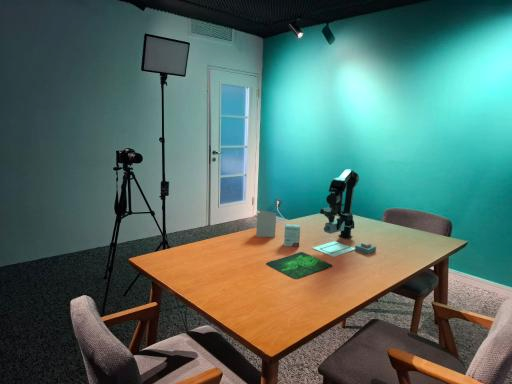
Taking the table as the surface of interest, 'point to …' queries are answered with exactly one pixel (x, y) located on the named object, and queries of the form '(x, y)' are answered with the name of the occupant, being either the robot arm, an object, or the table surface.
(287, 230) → the ink box
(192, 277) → the table surface
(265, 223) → the greeting card
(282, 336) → the table surface
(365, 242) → the button
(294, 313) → the table surface
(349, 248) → the paper sheet
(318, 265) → the mouse mat
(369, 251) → the button frame
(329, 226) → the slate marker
